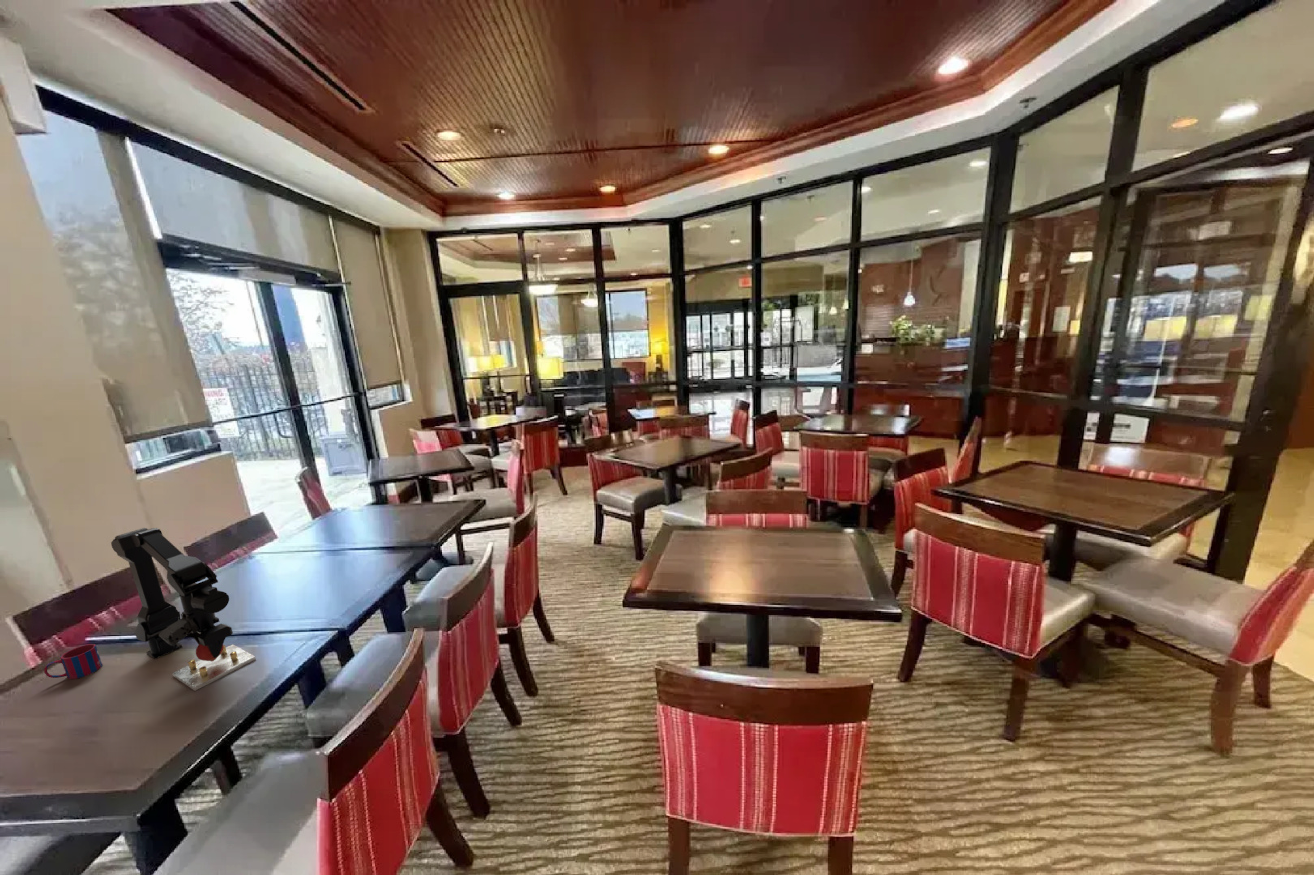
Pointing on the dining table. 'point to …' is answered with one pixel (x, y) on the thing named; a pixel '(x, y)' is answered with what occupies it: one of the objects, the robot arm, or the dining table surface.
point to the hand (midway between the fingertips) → (211, 654)
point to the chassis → (213, 667)
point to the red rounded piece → (205, 653)
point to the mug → (78, 662)
